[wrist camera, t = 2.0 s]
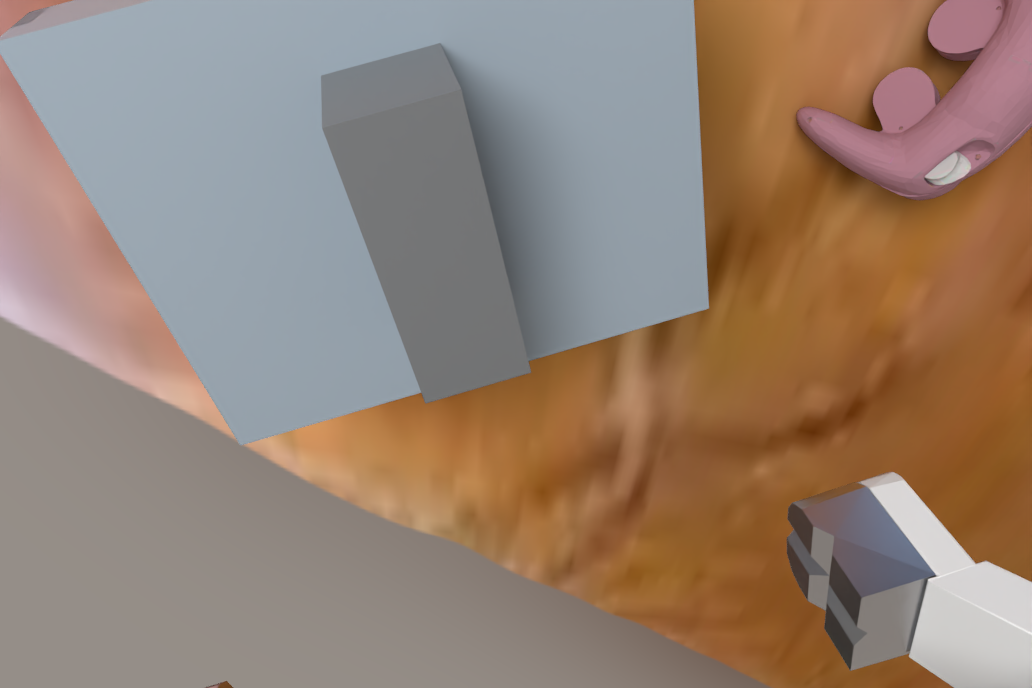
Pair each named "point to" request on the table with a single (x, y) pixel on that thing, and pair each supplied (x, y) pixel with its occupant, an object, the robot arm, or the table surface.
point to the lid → (381, 182)
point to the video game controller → (942, 105)
